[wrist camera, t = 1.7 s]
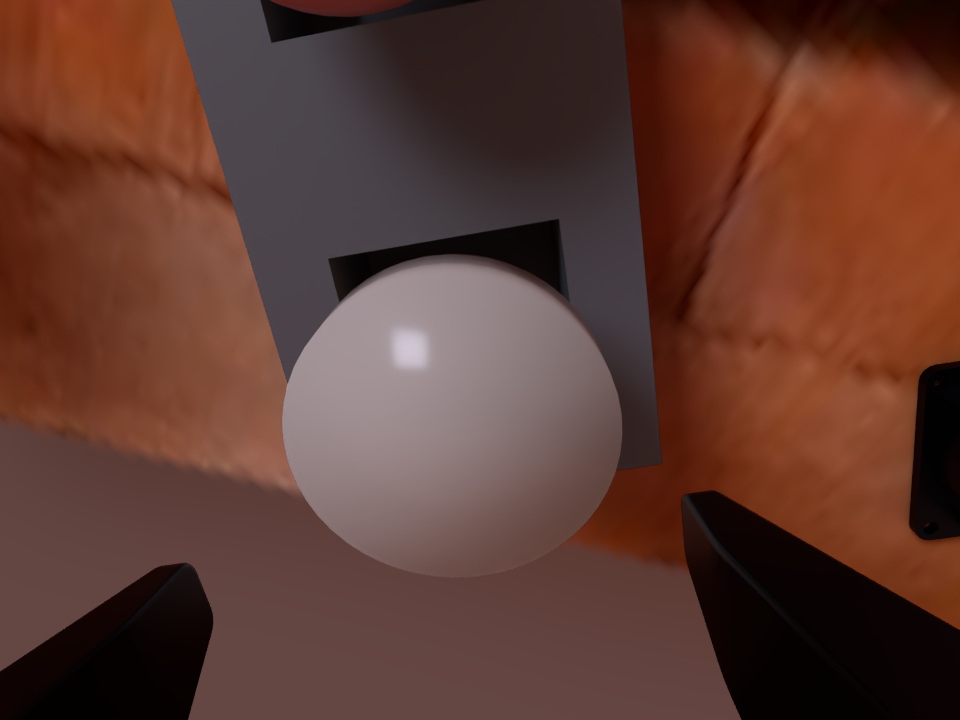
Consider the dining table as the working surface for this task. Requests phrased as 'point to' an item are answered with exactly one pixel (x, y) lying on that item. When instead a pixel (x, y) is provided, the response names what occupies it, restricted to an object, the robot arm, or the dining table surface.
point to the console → (433, 158)
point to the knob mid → (342, 6)
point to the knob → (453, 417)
